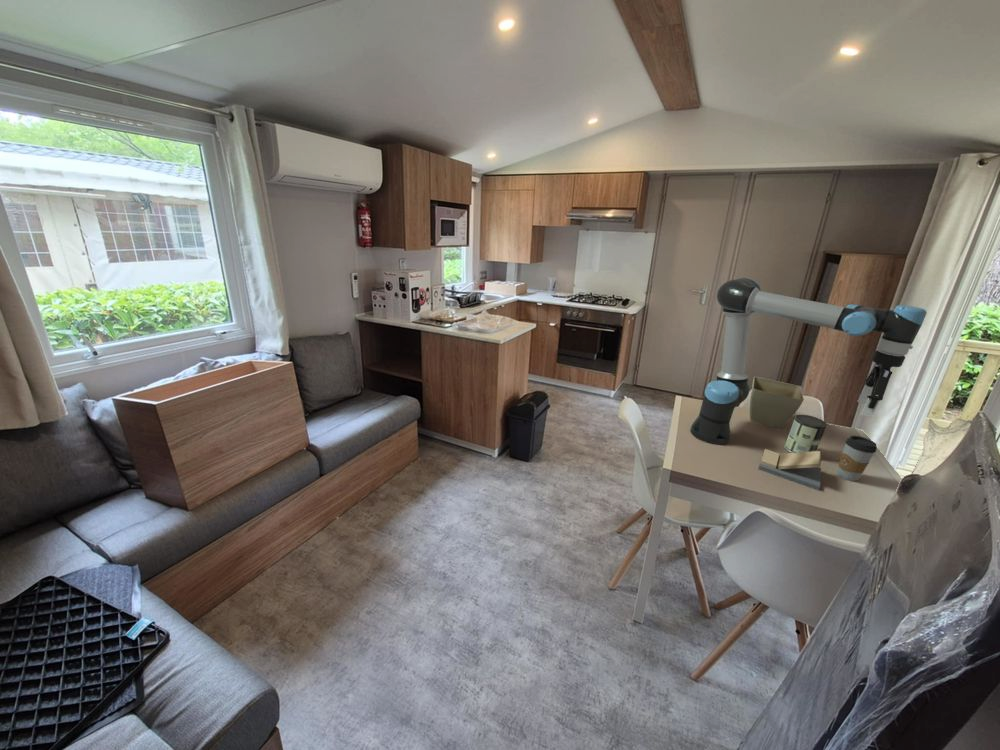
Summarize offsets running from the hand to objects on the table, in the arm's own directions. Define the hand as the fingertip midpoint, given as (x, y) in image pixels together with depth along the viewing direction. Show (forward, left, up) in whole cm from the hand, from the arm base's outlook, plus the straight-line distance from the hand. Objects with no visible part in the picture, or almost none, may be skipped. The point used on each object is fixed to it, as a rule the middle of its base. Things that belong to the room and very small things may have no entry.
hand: (864, 409), depth 138 cm
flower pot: (-26, +28, -26) cm, 46 cm away
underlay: (-14, -15, -25) cm, 33 cm away
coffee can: (-12, +5, -26) cm, 29 cm away
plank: (-12, -15, -20) cm, 28 cm away
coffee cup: (+3, -4, -26) cm, 26 cm away
